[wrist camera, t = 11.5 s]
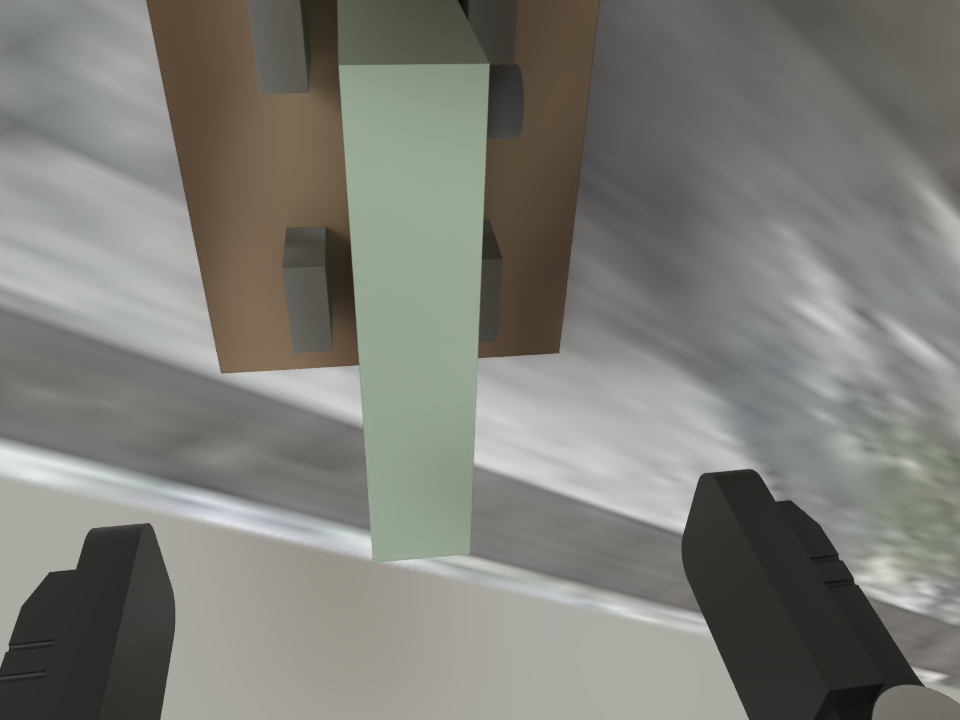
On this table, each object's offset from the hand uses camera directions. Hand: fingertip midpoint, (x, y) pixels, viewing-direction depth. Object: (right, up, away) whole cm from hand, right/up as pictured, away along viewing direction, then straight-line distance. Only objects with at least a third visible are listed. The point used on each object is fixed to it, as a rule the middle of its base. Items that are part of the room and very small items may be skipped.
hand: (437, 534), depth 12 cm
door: (-2, +8, +12) cm, 15 cm away
